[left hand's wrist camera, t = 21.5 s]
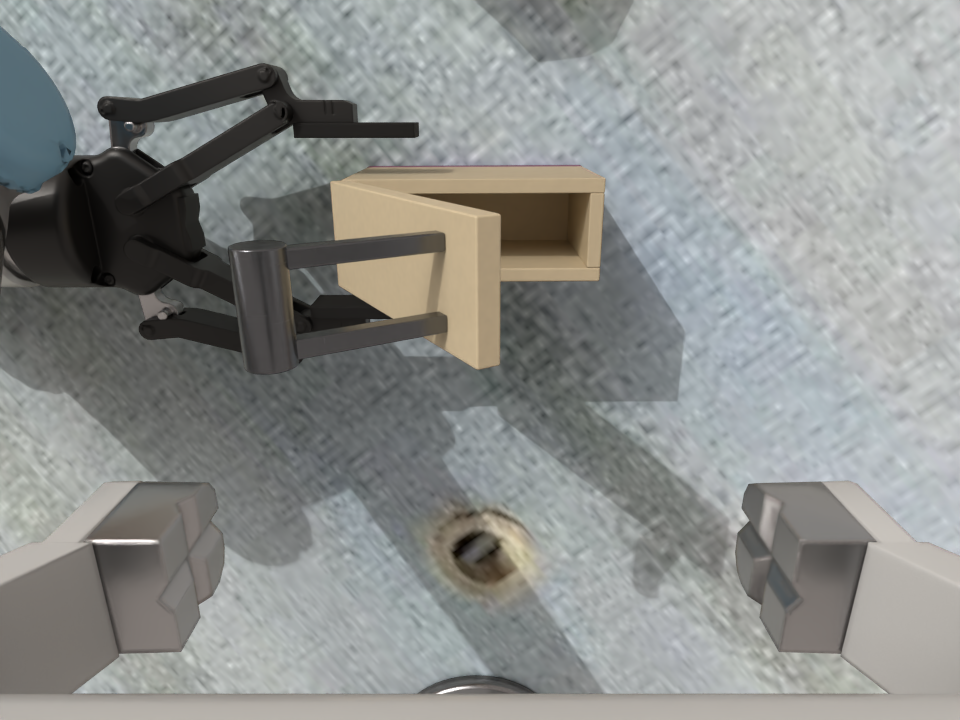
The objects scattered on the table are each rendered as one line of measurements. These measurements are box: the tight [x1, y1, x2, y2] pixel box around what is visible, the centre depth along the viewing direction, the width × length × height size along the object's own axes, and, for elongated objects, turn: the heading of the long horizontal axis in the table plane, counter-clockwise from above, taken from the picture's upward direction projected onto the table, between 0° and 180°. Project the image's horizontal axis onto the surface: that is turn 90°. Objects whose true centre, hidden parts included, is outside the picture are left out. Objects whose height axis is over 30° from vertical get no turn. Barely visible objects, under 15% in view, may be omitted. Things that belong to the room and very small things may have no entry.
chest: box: [342, 165, 605, 282], centre depth 40 cm, size 14×6×10 cm, turn 90°
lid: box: [228, 180, 501, 375], centre depth 27 cm, size 15×6×8 cm
